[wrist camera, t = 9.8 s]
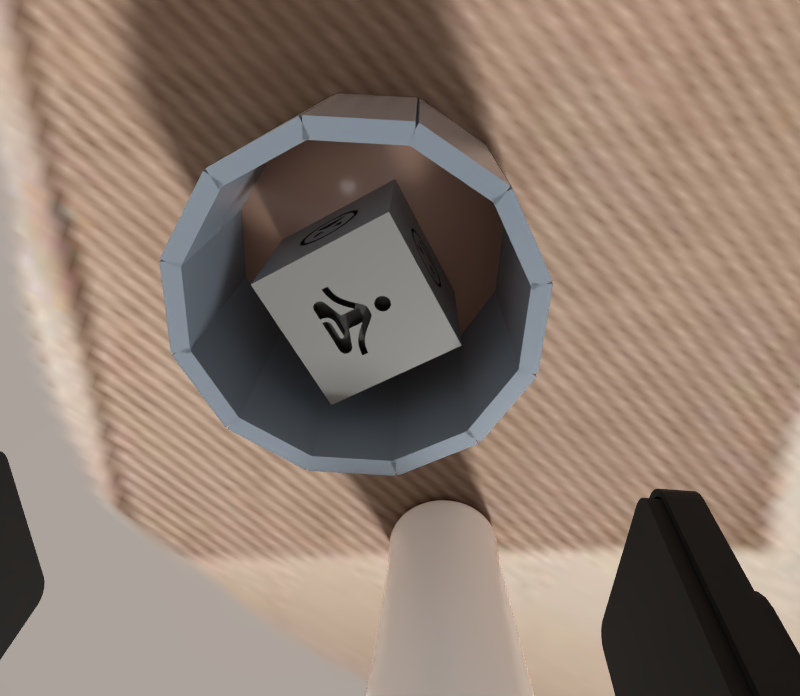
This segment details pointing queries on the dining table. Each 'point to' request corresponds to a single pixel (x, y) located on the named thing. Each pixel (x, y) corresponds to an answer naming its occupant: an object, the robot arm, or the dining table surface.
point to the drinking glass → (446, 610)
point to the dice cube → (361, 294)
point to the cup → (313, 200)
